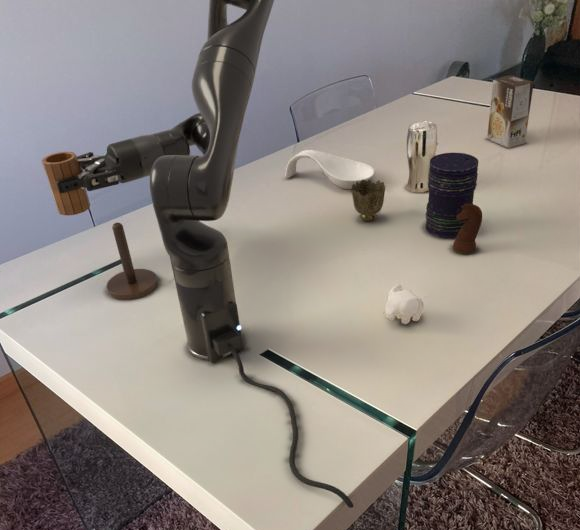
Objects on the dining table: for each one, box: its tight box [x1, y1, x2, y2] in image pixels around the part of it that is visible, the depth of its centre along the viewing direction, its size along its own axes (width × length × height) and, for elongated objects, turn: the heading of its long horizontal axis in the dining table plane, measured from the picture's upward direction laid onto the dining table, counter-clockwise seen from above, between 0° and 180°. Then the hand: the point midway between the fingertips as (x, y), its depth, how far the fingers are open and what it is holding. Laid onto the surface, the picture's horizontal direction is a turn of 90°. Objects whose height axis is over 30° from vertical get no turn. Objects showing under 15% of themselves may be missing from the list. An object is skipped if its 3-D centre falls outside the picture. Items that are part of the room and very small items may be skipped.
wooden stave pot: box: [41, 151, 91, 217], centre depth 119 cm, size 6×6×10 cm
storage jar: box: [425, 152, 479, 240], centre depth 134 cm, size 10×10×15 cm
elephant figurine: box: [383, 284, 427, 325], centre depth 111 cm, size 7×8×6 cm
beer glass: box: [406, 120, 438, 194], centre depth 152 cm, size 7×7×15 cm
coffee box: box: [486, 74, 535, 149], centre depth 171 cm, size 9×6×16 cm
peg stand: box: [106, 222, 159, 301], centre depth 124 cm, size 10×10×14 cm
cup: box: [351, 179, 386, 222], centre depth 142 cm, size 8×7×8 cm
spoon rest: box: [284, 149, 376, 190], centre depth 161 cm, size 24×12×7 cm, turn 62°
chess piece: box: [452, 203, 483, 256], centre depth 128 cm, size 5×5×10 cm
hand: (52, 182), depth 118 cm, fingers closed on wooden stave pot, 6 cm apart
